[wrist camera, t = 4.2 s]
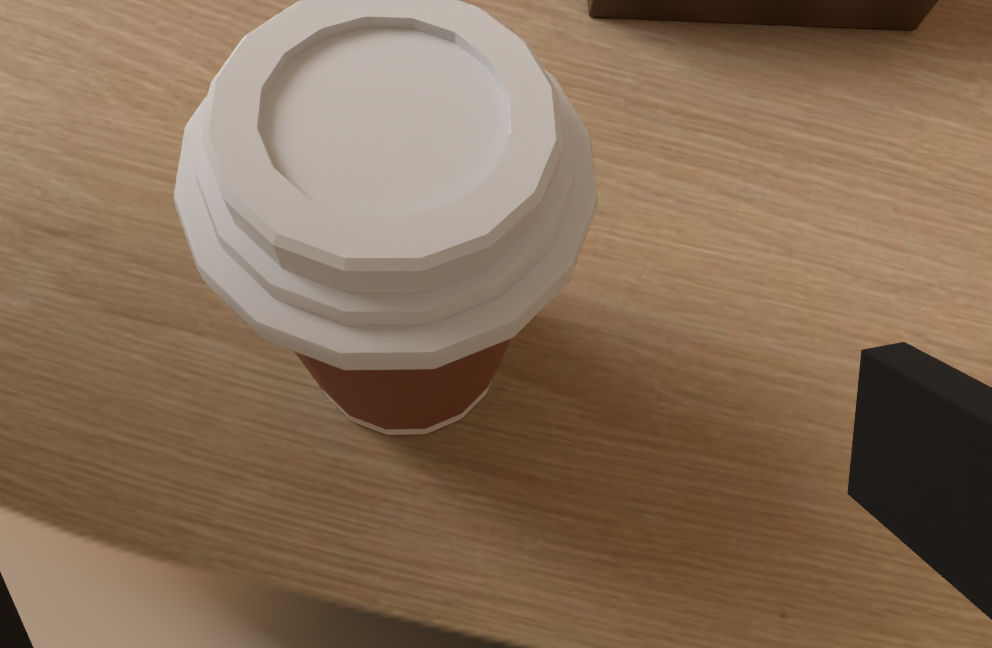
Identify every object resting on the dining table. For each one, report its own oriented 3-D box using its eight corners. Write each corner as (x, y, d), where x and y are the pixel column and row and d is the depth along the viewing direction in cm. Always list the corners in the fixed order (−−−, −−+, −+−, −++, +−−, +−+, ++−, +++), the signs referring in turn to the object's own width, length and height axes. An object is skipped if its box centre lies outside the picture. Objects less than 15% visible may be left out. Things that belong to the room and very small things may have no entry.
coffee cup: (441, 190, 28) (446, -107, 17) (591, 377, 25) (712, 167, 14) (221, 312, 25) (59, 52, 14) (364, 535, 23) (298, 425, 12)
